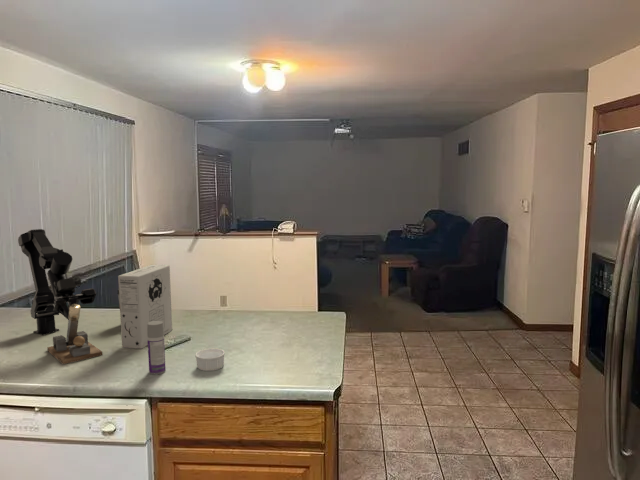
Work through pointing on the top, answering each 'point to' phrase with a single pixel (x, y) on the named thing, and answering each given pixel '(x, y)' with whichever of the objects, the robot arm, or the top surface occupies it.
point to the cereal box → (144, 303)
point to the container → (156, 347)
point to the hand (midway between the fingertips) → (72, 321)
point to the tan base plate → (73, 348)
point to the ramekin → (210, 359)
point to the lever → (72, 323)
